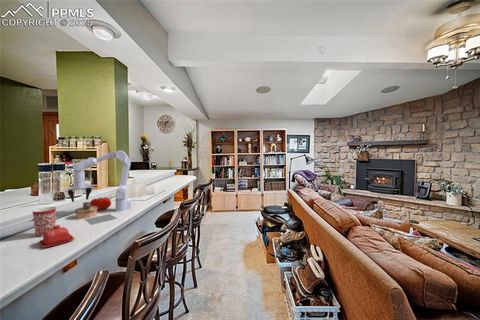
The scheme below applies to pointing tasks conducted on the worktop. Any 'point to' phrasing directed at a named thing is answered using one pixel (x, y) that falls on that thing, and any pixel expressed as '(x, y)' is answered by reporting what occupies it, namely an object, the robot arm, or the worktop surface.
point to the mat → (100, 219)
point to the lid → (86, 208)
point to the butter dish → (56, 236)
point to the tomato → (101, 203)
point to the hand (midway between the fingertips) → (80, 200)
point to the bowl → (86, 215)
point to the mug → (44, 220)
